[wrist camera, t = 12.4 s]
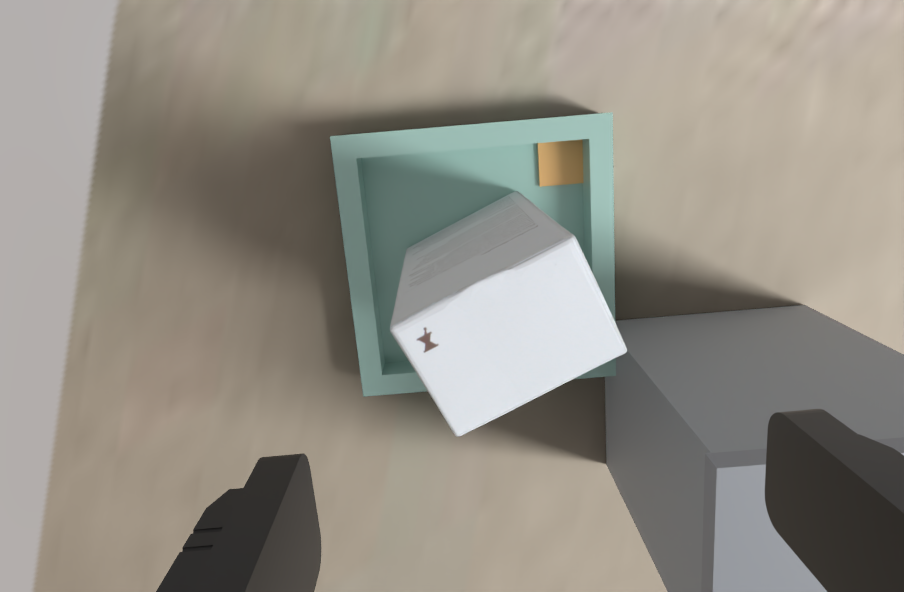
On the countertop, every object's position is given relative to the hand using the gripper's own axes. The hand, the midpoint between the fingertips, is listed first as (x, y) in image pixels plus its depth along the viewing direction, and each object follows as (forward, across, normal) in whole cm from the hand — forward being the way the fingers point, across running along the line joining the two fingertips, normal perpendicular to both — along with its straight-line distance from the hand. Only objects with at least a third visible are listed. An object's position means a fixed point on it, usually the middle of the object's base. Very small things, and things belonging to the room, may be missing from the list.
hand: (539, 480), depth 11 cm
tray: (+20, 0, 0) cm, 20 cm away
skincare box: (+20, 0, 0) cm, 20 cm away
